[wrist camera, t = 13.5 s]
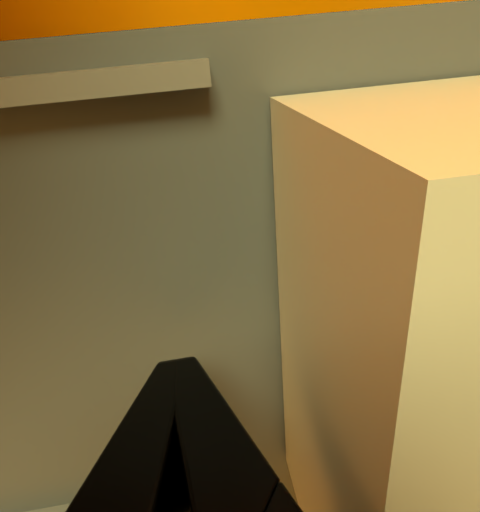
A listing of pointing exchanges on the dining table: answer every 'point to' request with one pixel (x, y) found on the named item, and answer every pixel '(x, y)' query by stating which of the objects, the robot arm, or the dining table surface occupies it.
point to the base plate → (163, 216)
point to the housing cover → (380, 294)
